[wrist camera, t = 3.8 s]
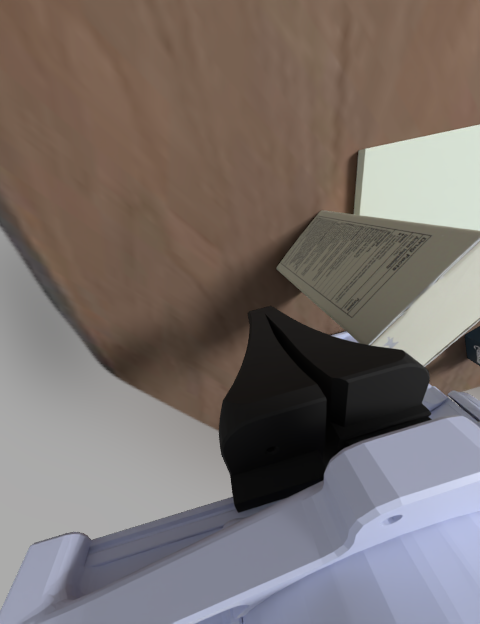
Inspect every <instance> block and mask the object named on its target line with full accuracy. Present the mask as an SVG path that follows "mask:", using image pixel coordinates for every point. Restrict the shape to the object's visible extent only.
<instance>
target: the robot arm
mask: <svg viewBox="0 0 480 624" xmlns="http://www.w3.org/2000/svg"><path fill="white" fill-rule="evenodd" d="M248 318H249V323H250V332H249V340H248V346H247V350H246V354H245V357H244V360H243V363H242V366H241V368H240V371H239V373H238V375H237V377H236V379H235V381H234V383H233V385H232V387H231V388H230V390H229V392H228V393H227V395H226V397H225V398H224V400H223V403H222V409H221V415H220V423H219V440H220V449H221V454H222V457H223V459H224V462H225V464H226V466H227V468H228V470H229V473H230V476H231V485H232V493H233V497H231V498H227V499H224V500H221V501H217V502H214V503H211V504H208V505H204V506H201V507H198V508H195V509H192V510H188V511H185V512H181V513H178V514H175V515H172V516H168V517H165V518H162V519H159V520H155V521H152V522H149V523H145V524H142V525H139V526H136V527H132V528H129V529H126V530H123V531H119V532H116V533H113V534H109V535H106V536H103V537H100V538H96V539H93V540H91V539H90V538H89V537H88V536H87V535H85V534H84V533H80V532H71V533H66V534H63V535H59V536H56V537H53V538H49V539H46V540H43V541H39V542H36V543H34V544H32V545H31V546H30V547H29V549H28V551H27V554H26V556H25V558H24V560H23V562H22V565H21V567H20V569H19V571H18V574H17V576H16V578H15V580H14V582H13V584H12V586H11V589H10V591H9V593H8V595H7V597H6V600H5V602H4V604H3V606H2V609H1V611H0V624H480V401H479V400H478V399H476V398H475V397H473V396H472V395H470V394H468V393H465V392H457V391H454V390H453V391H451V392H450V393H448V394H447V395H448V396H449V397H450V398H451V399H453V400H454V401H455V402H456V403H457V404H458V405H459V406H460V407H461V408H460V407H459V406H458V405H457V404H455V403H454V402H452V400H450V399H449V398H448V397H447V396H446V395H444V394H443V393H442V392H441V391H440V390H438V389H437V388H436V387H435V386H431V385H430V384H429V378H430V377H429V372H428V370H427V369H426V368H425V367H424V366H423V365H422V364H420V363H419V362H418V361H416V360H415V359H414V358H413V357H411V356H410V355H409V354H408V353H406V352H405V351H403V350H400V349H393V348H385V347H377V346H371V345H366V344H361V343H359V342H358V341H356V340H355V339H354V338H353V337H352V336H351V335H350V334H349V333H348V332H347V331H346V332H342V333H338V334H334V335H328V334H325V333H322V332H320V331H317V330H315V329H312V328H310V327H308V326H306V325H304V324H301V323H300V322H298V321H296V320H294V319H292V318H290V317H289V316H287V315H285V314H284V313H282V312H280V311H279V310H277V309H275V308H274V307H272V306H269V307H265V308H261V309H257V310H253V311H249V313H248Z"/></svg>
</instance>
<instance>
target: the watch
mask: <svg viewBox="0 0 480 624" xmlns="http://www.w3.org/2000/svg"><path fill="white" fill-rule="evenodd" d="M465 343H466V351H467V358H468V359H470V360H471V361H473V362H474V363H476V364H478V365H479V366H480V326H479V327H478V328H476V329H474V330H472V331H471V332H469V333H467V334H466V335H465Z"/></svg>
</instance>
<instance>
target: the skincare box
mask: <svg viewBox="0 0 480 624" xmlns="http://www.w3.org/2000/svg"><path fill="white" fill-rule="evenodd" d="M276 269H277V270H278V271H279V272H280V273H281V274H282V275H284V276H285V277H286V278H287V279H288V280H289V281H290V282H291V283H293V284H294V285H295V286H296V287H297V288H298V289H299V290H300V291H302V292H303V293H304V294H305V295H306V296H307V297H308V298H309V299H310V300H312V301H313V302H314V303H315V304H316V305H317V306H318V307H320V308H321V309H322V310H323V311H324V312H325V313H326V314H328V315H329V316H330V317H331V318H332V319H333V320H334V321H335V322H336V323H338V324H339V325H340V326H341V327H342V328H343V329H344V330H345V331H347V332H348V333H349V334H350V335H351V336H352V337H353V338H354V339H355V340H356V341H358V342H359V343H361V344H366V345H371V346H377V347H385V348H393V349H400V350H403V351H405V352H406V353H408V354H409V355H410V356H411V357H413V358H414V359H415V360H416V361H418V362H419V363H420V364H422V365H423V366H424V367H425V366H426V365H427V364H429V363H430V362H431V361H432V360H434V359H435V358H436V357H437V356H438V355H440V354H441V353H442V352H443V351H444V350H446V349H447V348H448V347H449V346H450V345H451V344H453V343H454V342H455V341H456V340H458V339H459V338H460V337H461V336H462V335H463V334H465V333H466V332H467V331H468V330H469V329H470V328H471V327H473V326H474V325H475V324H476V323H478V322H479V321H480V231H478V230H470V229H462V228H454V227H447V226H439V225H431V224H423V223H415V222H408V221H400V220H392V219H385V218H377V217H369V216H361V215H354V214H346V213H338V212H331V211H324V210H322V211H320V212H319V213H318V215H317V216H316V217H315V218H314V219H313V221H312V222H311V223H310V224H309V226H308V227H307V228H306V229H305V231H304V232H303V233H302V234H301V236H300V237H299V238H298V240H297V241H296V242H295V243H294V245H293V246H292V247H291V249H290V250H289V251H288V253H287V254H286V255H285V257H284V258H283V259H282V261H281V262H280V263H279V265H278V266H277V268H276Z"/></svg>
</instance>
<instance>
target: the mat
mask: <svg viewBox="0 0 480 624" xmlns="http://www.w3.org/2000/svg"><path fill="white" fill-rule="evenodd" d="M354 215H361V216H369V217H377V218H385V219H392V220H400V221H408V222H415V223H423V224H431V225H439V226H447V227H454V228H462V229H470V230H478V231H480V125H476V126H471V127H466V128H461V129H457V130H452V131H447V132H443V133H438V134H433V135H429V136H424V137H419V138H414V139H410V140H405V141H400V142H396V143H391V144H386V145H382V146H377V147H372V148H367V149H363V150H359V151H358V165H357V178H356V191H355V204H354Z"/></svg>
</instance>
